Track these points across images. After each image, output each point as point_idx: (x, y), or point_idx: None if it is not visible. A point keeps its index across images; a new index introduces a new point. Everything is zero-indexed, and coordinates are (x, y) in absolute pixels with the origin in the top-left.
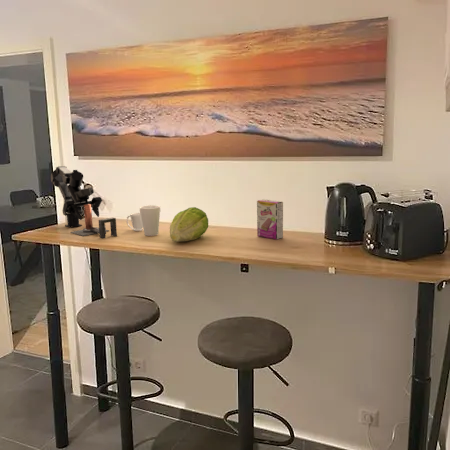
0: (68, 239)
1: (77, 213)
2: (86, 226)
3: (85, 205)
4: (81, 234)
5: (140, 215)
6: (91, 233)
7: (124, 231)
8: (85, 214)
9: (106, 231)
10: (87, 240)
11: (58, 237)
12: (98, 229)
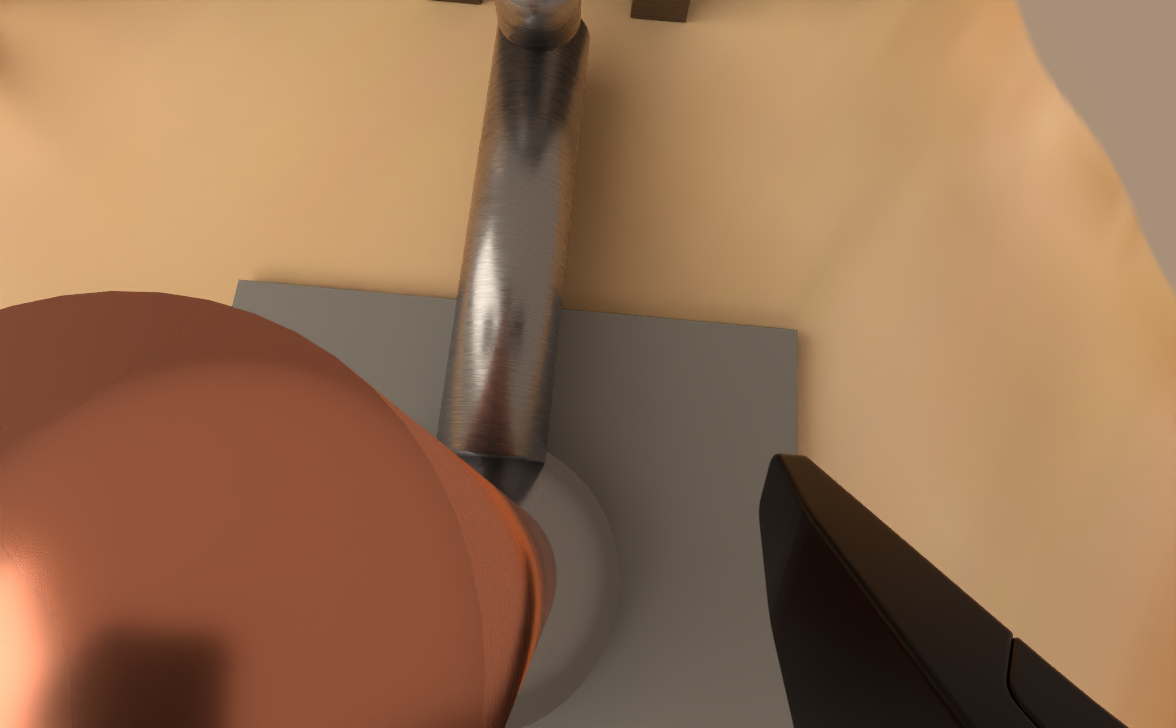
0: (1089, 346)
1: (982, 627)
2: (553, 565)
3: (460, 502)
4: (773, 427)
5: None
6: (605, 337)
7: (138, 61)
8: (536, 575)
9: (302, 290)
10: (898, 44)
11: (1171, 670)
12: (553, 142)
